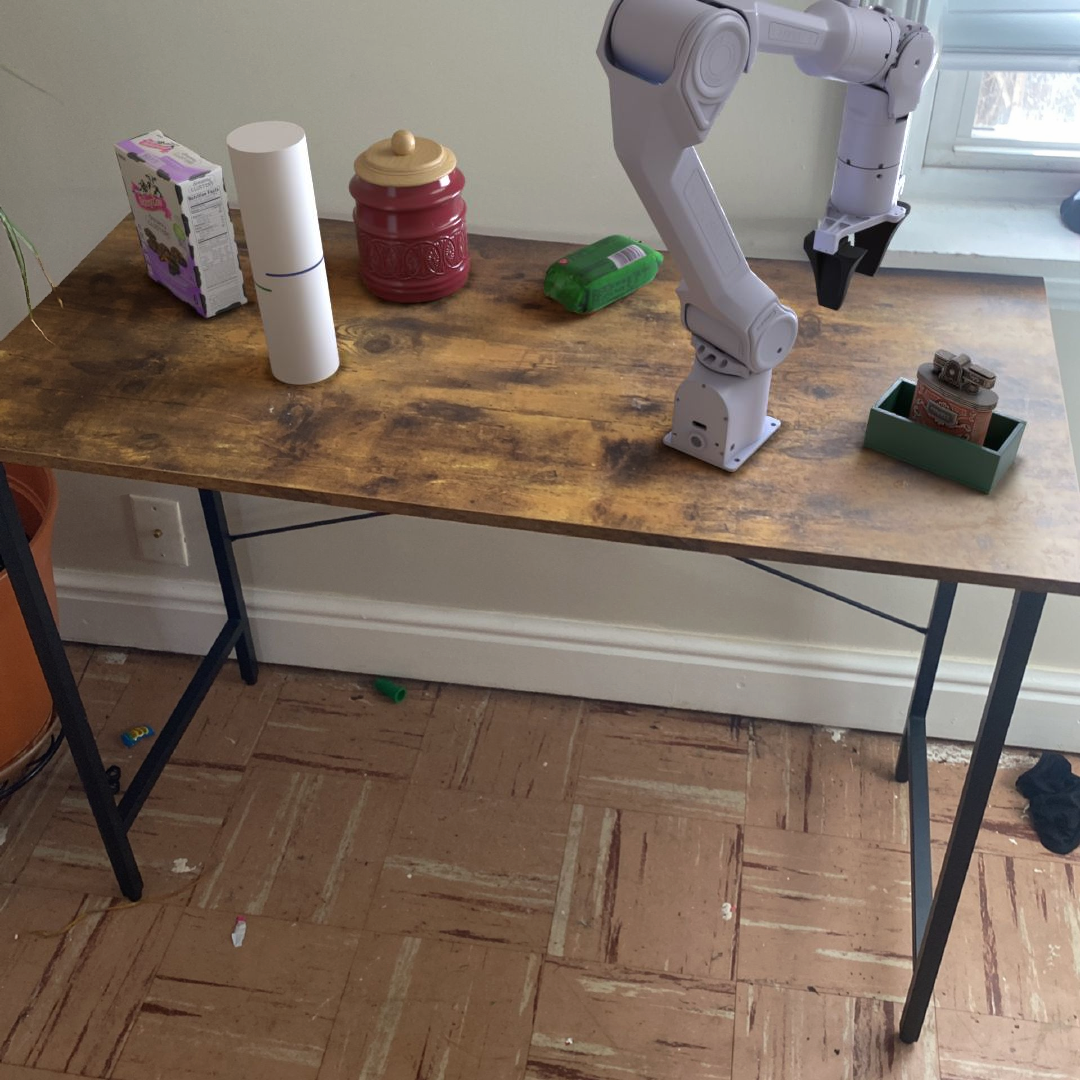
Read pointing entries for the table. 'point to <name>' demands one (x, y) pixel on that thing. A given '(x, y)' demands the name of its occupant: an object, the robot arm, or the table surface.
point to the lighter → (954, 396)
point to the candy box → (182, 222)
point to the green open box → (942, 441)
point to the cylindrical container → (285, 249)
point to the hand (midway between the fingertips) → (847, 289)
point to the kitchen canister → (410, 219)
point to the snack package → (601, 273)
